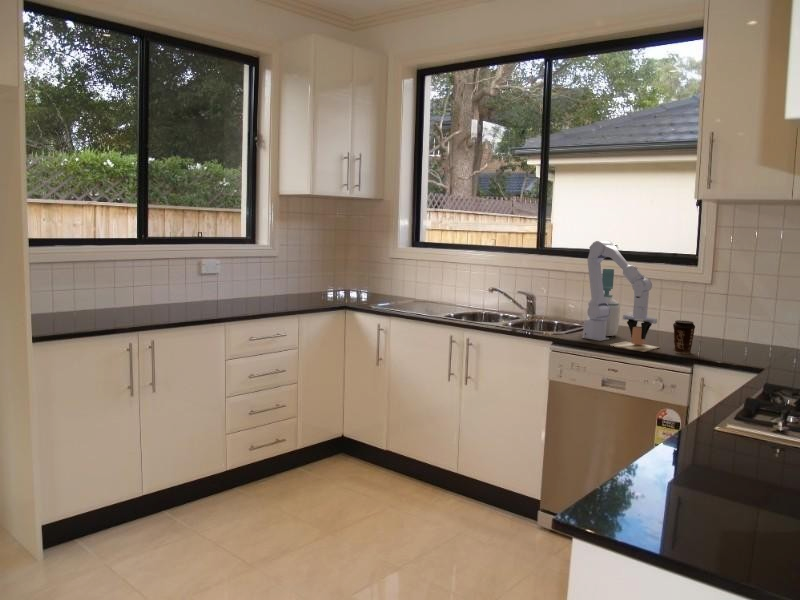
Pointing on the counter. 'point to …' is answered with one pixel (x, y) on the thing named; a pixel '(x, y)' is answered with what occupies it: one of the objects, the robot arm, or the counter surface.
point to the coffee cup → (683, 336)
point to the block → (637, 336)
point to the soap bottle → (610, 303)
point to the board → (634, 346)
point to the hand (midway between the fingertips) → (638, 338)
